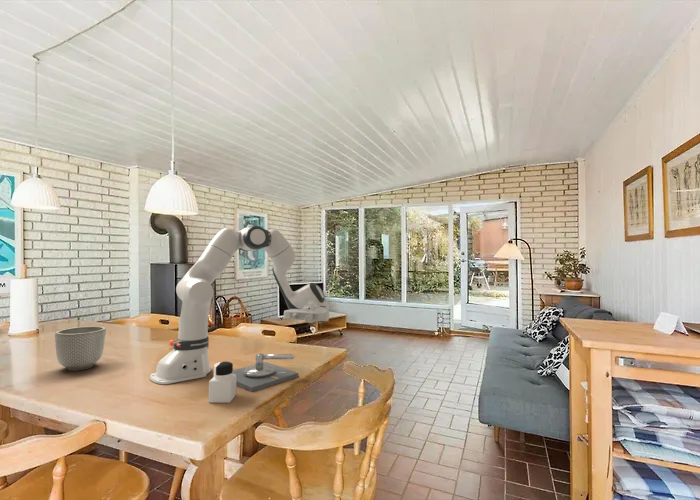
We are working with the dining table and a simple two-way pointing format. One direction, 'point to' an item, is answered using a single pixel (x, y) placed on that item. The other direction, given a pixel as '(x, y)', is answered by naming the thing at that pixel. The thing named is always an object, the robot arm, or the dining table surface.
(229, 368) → the medicine bottle
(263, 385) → the base plate
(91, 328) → the planter
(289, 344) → the dining table surface
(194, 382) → the dining table surface
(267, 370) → the capstan dial
